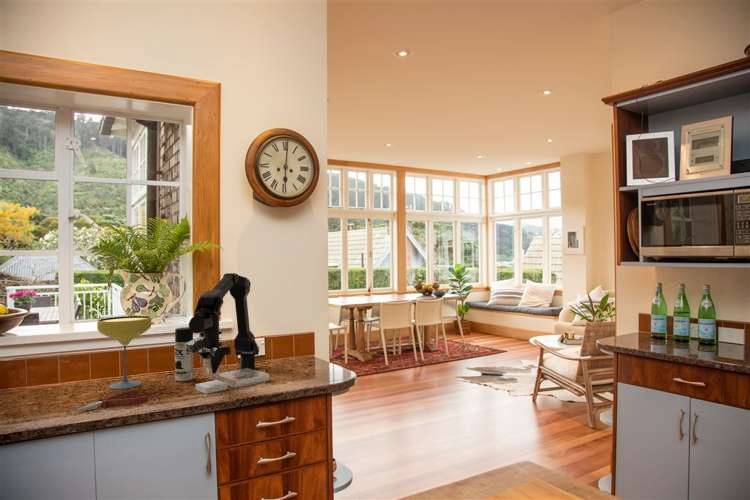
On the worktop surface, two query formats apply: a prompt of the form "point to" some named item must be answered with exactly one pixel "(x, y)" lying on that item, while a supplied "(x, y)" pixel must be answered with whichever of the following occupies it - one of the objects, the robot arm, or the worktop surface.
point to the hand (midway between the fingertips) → (211, 372)
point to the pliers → (114, 401)
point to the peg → (208, 368)
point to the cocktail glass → (124, 338)
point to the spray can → (183, 355)
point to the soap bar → (211, 386)
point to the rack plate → (242, 377)
